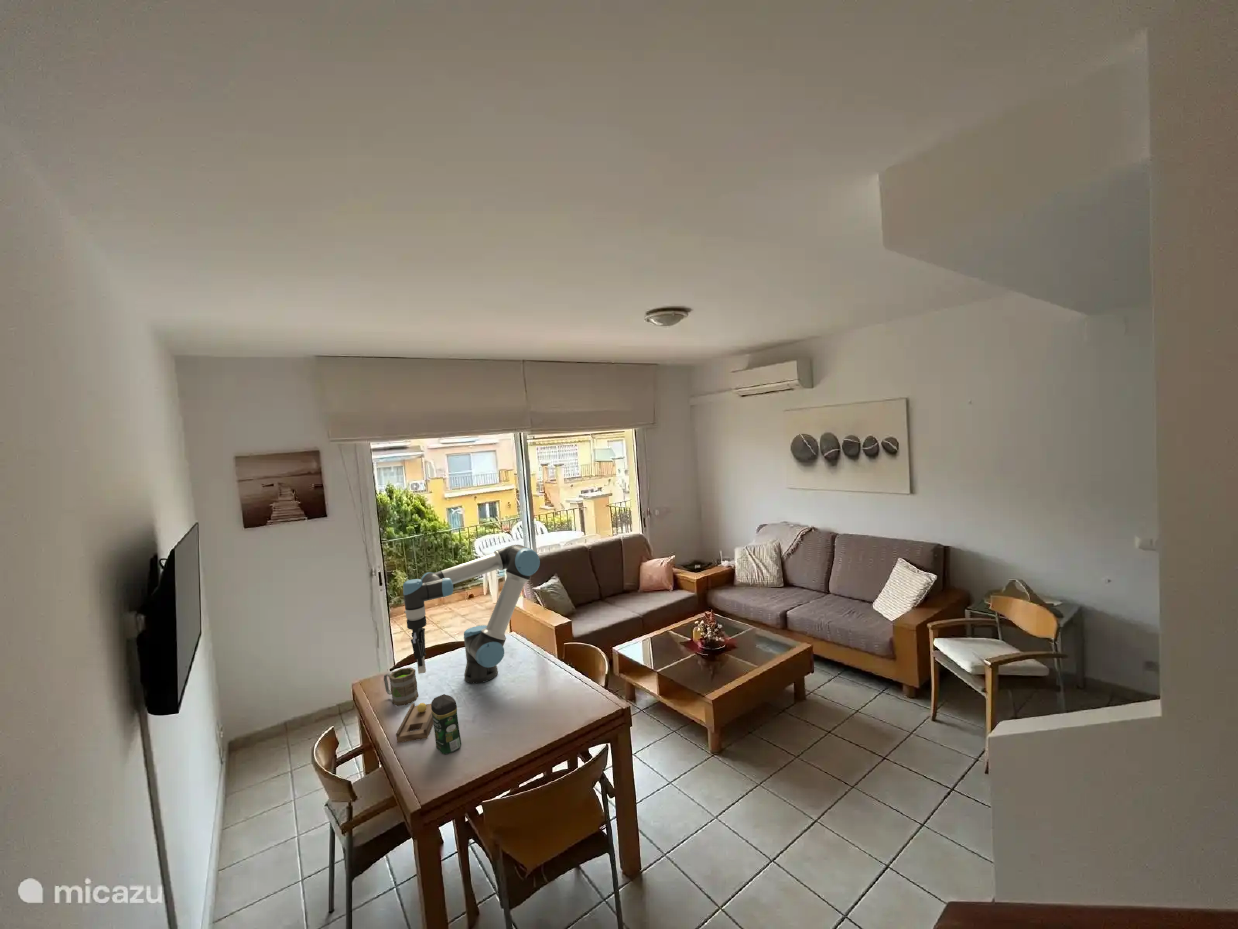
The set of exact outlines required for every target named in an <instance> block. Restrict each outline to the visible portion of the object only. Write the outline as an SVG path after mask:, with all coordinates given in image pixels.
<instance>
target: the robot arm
mask: <svg viewBox="0 0 1238 929" xmlns="http://www.w3.org/2000/svg"><path fill="white" fill-rule="evenodd" d="M540 560H541V559H540V556H539V554H538V552H536V551H535V550H534V549H532V548H530V547H527V546H524V545H522V544H512V545H509V546H506V547H503V548H500V549H496V550H494V552H493V553H492V554H487V555H485V556H482V557H479V558H476V559H472V560H470V561H467V562H464V563H460V564H457V565H454V566H452V567H449V568H445V569H442V570H439V571H436V572H431V571H430V572H425V573H424V574H423V575H422V576H421V577H420V578H415V579H414V578H413V579H408V580H406V581H404V583H403V584H402V589H403V591H402V592H403V593H402V594H403V601H404V602H403V603H404V613H405V618H406V627H407V629H408V630H411V631H412V632H411V639H410V643H411V646H412V650H413V656H414V660H416V664H417V665H416V666H417V673H418V674H424V673H425V674H426V672H427V668H426V660H425V659H426V658H425V657H426V656H427V653H426V636H425V634H426V631H425V630H426V629H425V627H426V626H427V616H426V615H427V614H426V607H425V606H426V605H425V602H427V601H431V600H435V599H440V598H445V597H448V596H451V595H453V592H454V584H459V583H460V582H461V583H462V582H464V581H467V580H470V579H472V578H475V577H478V576H482V575H484V574H487V573H490V572H493V571H496V570H499V571H503V570H505V573H506V578H505V580H504V583H503V586H502V589H501V590H500V593H499V596H498V598H497V600H496V602H495V606H494V608H493V611H492V613H491V615H490V618H489V619H488V620H489V621H488V623H487V625H485V624H482V625H476V626H473V627H470V628H467V629H466V630H465V631H464V632H463V641H464V649H465V658H466V664H465V669H464V674H463V676H464V681H465V682H466V683H468V684H480V683H484V682H488V681H491V680H492V679H494V678H496V676H497V675H498V672H499V671H498V666H497V665H498V664H500V663H501V662H502V660H503V658H504V657H505V648H504V645H505V642H506V641H507V640H506V639H507V637H506V630H507V629H508V626H509V623H510V621H511V618H512V616H513V614H514V611H515V609H516V606H517V603H518V600H519V598H520V595H521V594H522V591H523V588H524V586H525V584H526V583H527V582H529V581H530V579H531V578H532V576H533V575H534V574H536V572H537V571H538V570H539V568H540V565H541V561H540Z"/></svg>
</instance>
